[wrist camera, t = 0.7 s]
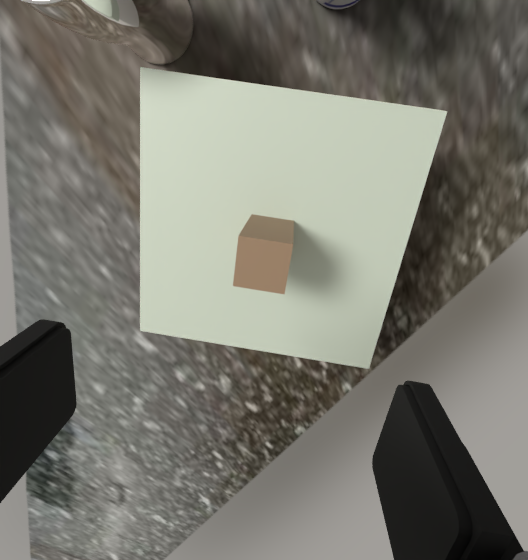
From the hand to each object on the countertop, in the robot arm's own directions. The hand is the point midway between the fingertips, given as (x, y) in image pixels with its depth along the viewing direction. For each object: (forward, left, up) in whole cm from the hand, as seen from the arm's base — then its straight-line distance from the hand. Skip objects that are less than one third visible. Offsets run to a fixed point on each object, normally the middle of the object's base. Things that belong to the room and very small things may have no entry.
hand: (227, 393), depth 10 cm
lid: (0, 0, -18) cm, 18 cm away
